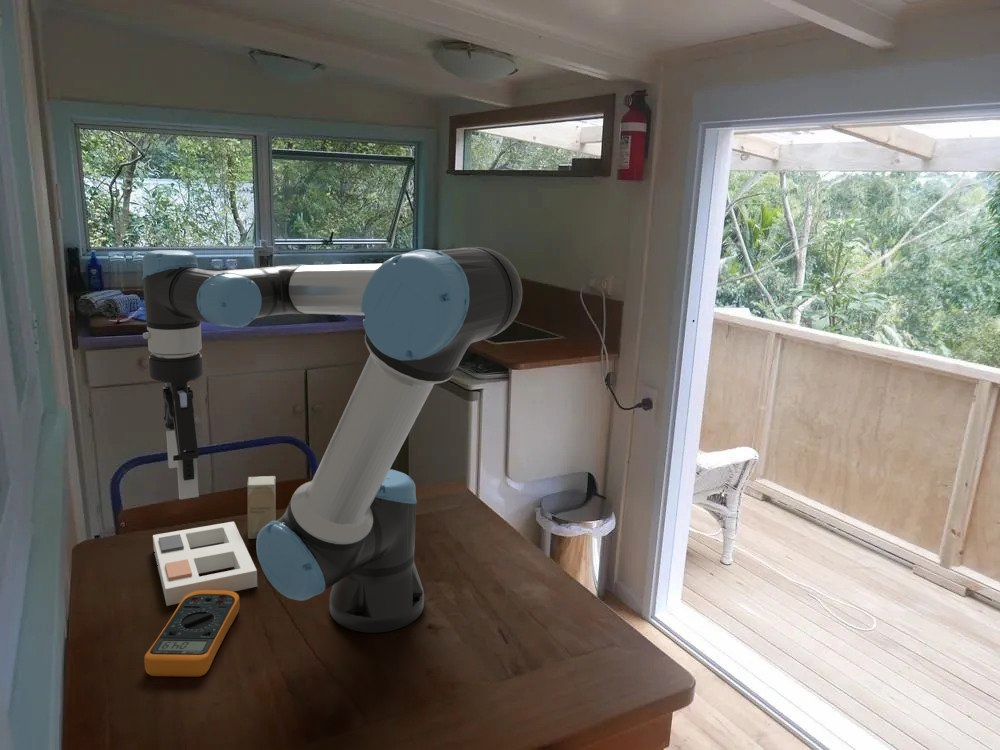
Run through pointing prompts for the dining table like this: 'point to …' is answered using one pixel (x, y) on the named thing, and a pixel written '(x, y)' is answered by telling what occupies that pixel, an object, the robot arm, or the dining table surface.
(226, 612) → the multimeter
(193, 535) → the socket board
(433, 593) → the dining table surface
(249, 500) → the box
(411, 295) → the robot arm
